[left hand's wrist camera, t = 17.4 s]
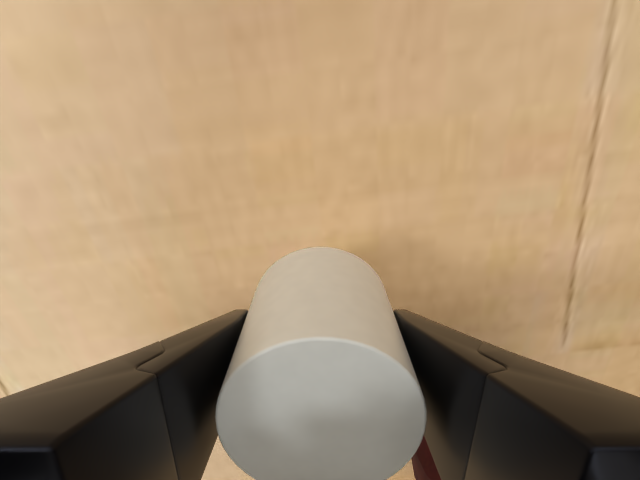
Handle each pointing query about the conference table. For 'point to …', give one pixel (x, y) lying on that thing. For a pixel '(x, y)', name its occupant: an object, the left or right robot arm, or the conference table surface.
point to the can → (320, 376)
